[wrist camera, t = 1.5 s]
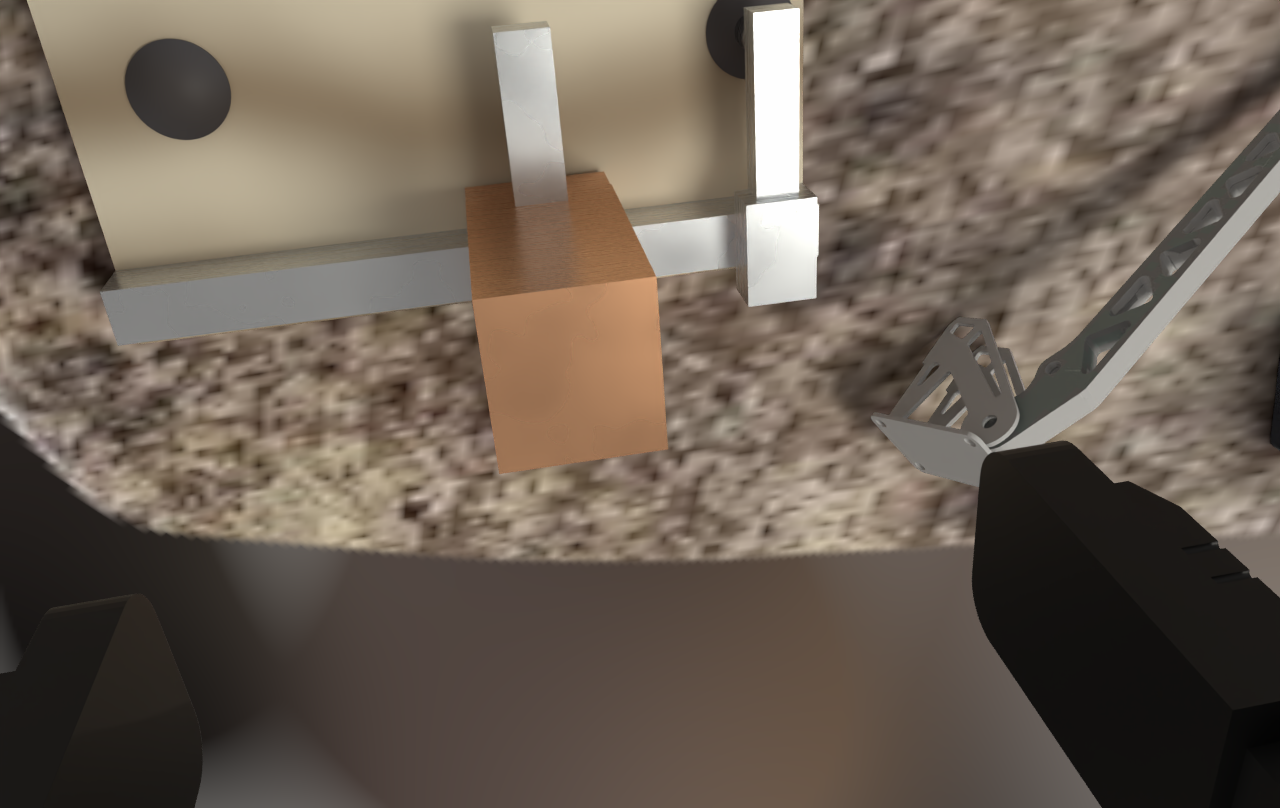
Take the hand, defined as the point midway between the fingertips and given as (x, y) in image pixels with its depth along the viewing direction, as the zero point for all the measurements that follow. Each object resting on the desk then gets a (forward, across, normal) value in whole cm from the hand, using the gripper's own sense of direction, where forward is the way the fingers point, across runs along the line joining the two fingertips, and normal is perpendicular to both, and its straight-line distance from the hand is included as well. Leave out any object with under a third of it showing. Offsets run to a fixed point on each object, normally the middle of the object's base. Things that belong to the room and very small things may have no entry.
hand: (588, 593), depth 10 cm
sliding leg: (+22, -1, +2) cm, 22 cm away
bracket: (+24, -21, +6) cm, 32 cm away
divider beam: (+22, +1, +2) cm, 22 cm away
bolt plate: (+23, +1, 0) cm, 23 cm away
